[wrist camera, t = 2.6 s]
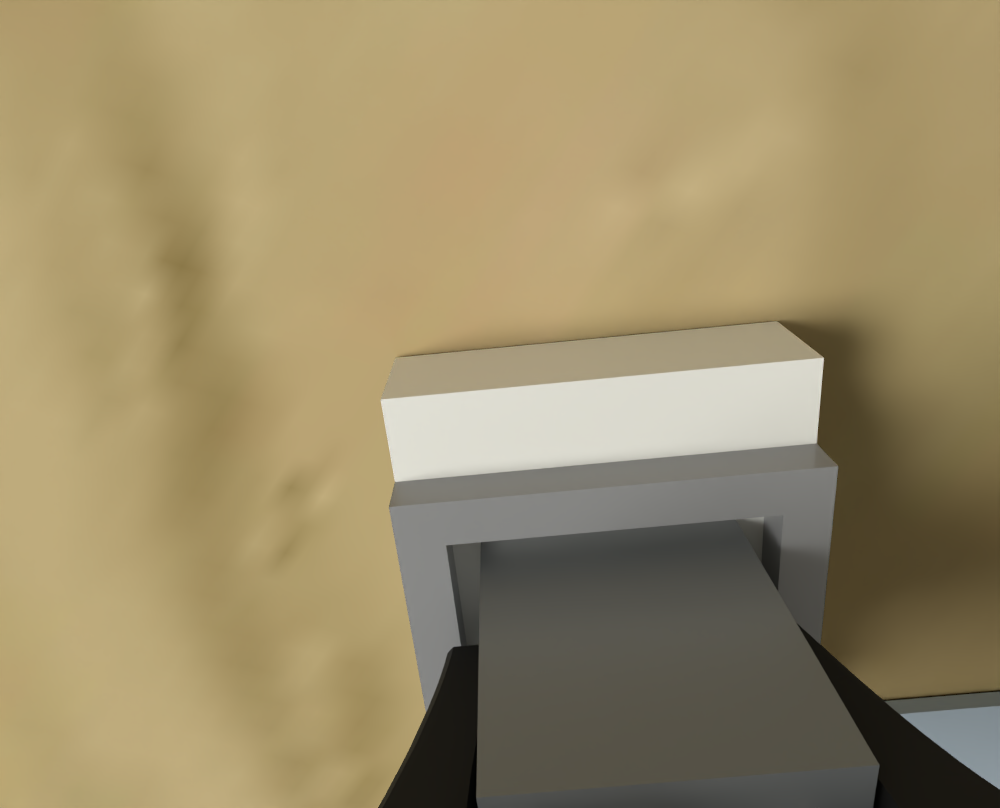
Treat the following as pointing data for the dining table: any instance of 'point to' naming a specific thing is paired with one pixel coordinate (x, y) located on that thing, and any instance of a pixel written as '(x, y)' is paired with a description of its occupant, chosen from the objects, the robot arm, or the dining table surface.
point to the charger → (653, 679)
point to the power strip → (604, 459)
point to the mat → (960, 728)
